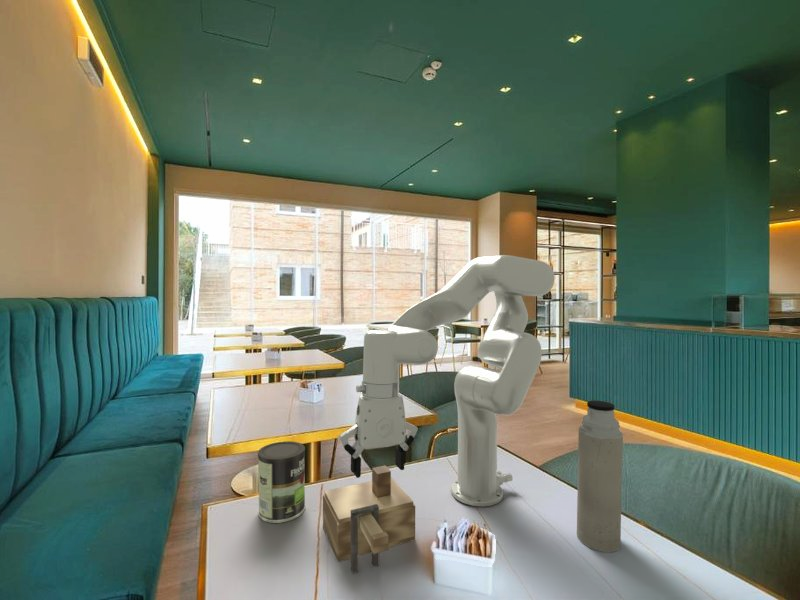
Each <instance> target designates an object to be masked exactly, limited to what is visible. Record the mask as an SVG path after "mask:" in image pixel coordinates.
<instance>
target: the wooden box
mask: <svg viewBox="0 0 800 600" xmlns="http://www.w3.org/2000/svg"><path fill="white" fill-rule="evenodd" d="M371 512H372V516H373V517H374V519H375V520H376V522H377V523H378V525H379V526H380V528H381V529H382V531H383V532H386V533H387V534H388V548H391V547H395V546H399V545H402V544H405V543H409V542H413V541H416V505H415V503H413V506H409V507H405V508H401V509H397V510H393V511H389V512H385V513H381V514H379V507H378V505H377V504H375V505H371V506H366V507H362V508H358V509H354V510H351V521H348V522H344V523H340V524H339V522H338V520H337V518H336V516H335V514H334V512H333V510H332V509H331V507H330V505H329V503H328V501H327V499H326V497H325V495H324V493H323V494H322V528H323V530H324V533H325V534H326V536H327V540H328V542H329V544H330V546H331V549H332V550H333V551H332V552H333V553H334V556H335V558H336V560H337V562H338V563H339V562H343V561H345V560H349V559H350V571H351V573H352V574H355V573H358V572H359V570H358V569H359V565H358V564H359V559H358V558H359V557H360V556H363V555H367V554H370V553H371V565H372V567H373V568H376V567H378V566H379V565H380V564H379V561H380V560H379V558H380V557H379V554H380V552H379V553H376V554H373V552H372V551H371V546H370V544H369V543H368V541H367V539H366V538H365V536H364V534H363V532H362V531H361V529H360V527H359V526H358V515H362V514H367V513H371ZM398 544H399V545H398Z"/></svg>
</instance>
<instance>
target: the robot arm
mask: <svg viewBox="0 0 800 600" xmlns="http://www.w3.org/2000/svg"><path fill="white" fill-rule="evenodd" d="M555 279H556V278H555V272H554V270H553V268H552V267H551V266H550V265H549V263H547V262H546V261H542V260H539V259H531V258H527V257H521V256H515V255H508V254H497V255H485V256H479V257H475V258H473V259H472V260H470V261H468V263H467V264H466V265H465V266H464V267H463V268H462V269H460V270H459V272H458V273H456V275H455V276H453V277H452V279H451V280H449V281H448V282H447V283H446V284H445V285H444V286H443V287H442V288H441V289H439V291H437V292H436V293H434V294H432V295H430V296H428V297H426V298H425V299H423V300H422V301H420V302H417V303H416V304H414V305H412V306H411V307H409V308H408V309H406V311H404V312H403V313H401V315H400V316H398V317H397V318H396V319H395V320H394V321H393V322H392V324H390V325H389V326H388V328H387V329H371V330H368V331H366V332H365V334H364V337H363V358H362V359H363V363H362V364H363V365H362V380H361V384H360V385H356V386H355V390H356V393H360V396H359V398H358V402H357V407H356V411H355V419H354V425H353V426H351V427H350V428H348V429H346V430H345V431H343V432H342V433H341V434H339V435H338V437H337V438H338V440H339V441H340V444H341V445H342V448H343V449H344V451H346V452H347V453H348V454H349V456H350V471H351V473H353V474H354V476H355V477H356V478H357V479H358V478H361V475H362V472H361V471H362V458H361V457H360V455H361V454H362V452H363V451H364V450H374V449H375V450H376V449H382V448H388V447H389V448H390V447H394V446H396V447H395V454H394V455H395V456H394V457H395V462H394V463H395V466H396V467H397V468H399V470H400V471H404V470H405V464H406V462H407V461H406V460H407V451H408V450H409V449H410V448H409V446H411V444H412V443H413V442H414V440H415V437H416V435H417V432H418V430H419V428H418V427H417V426H416V425H414V424H412V423H410V422H407V421H406V411H405V403H404V398H403V395H402V394H399V393H400V392H399V391H400V365H403V364H404V365H414V366H421V365H425V364H429V363H431V362H432V361H433V360H434V359H435V358H436V357H437V354H438V351H439V344H438V341H437V339H436V337H435V336H434V335H433V334H432V333H430V332H429V330H432V329H434V328H436V327H439V326H442V325H443V326H444V325H446V324H451V323H455V322H457V321H460V320H463V319H465V317H467V316H468V315H469V314H470V313H471V312H472V310H474V309H475V308H476V306H477V305H478V304H479V303H480V302H481V301H482V300H483V299H484V298H485V297H486V296H487V295H488V294H489V293H493V292H494V296H495V300H496V301H495V302H496V307H495V312H494V314H493V317H492V318H491V321H490V323H489V324H488V326H487V329H486V330H485V332H484V334H483V335H482V338H481V340H480V343H479V345H478V349H477V354H478V358H479V359H480V360H481V362H483V363H484V364H486V365H488V366H492V367H495V368H500V369H501V370H497V369H494V368H489V367H486V366H483V365H473V364H472V365H466V366H464V367H462V368H461V369H460V370H459V371H458V372H457V373H456V375H455V377H454V382H453V383H454V385H453V387H454V397H455V401H456V405H457V406H456V409H457V479H456V480H455V481H454V482H452V484H451V487H450V491H451V495H452V496H453V497H454V498H455V499H456V500H457V501H459V502H461V503H463V504H465V505H469V506H472V507H491V506H495V505H496V504H498V503H500V502H502V500H503V498H504V490H503V488H502V486H501V485H503V484H504V483H508V482H513V475H512V474H511V472H507V473H503V472H501V470H498V421H497V416H496V414H497V415H501V416H511V415H513V414H514V413H516V412H517V411H518V410H519V409H520V408H521V406H522V404H523V402H524V400H525V398H526V396H527V394H528V393H529V392H528V391H529V389H530V387H531V386H532V383H533V381H534V379H535V376H536V374H537V372H538V370H539V367H540V365H541V361H542V355H543V354H542V353H543V351H542V350H543V349H542V345H541V342H540V340H539V339H538V338H537V337H536V336H534V334H531V333H529V332H525V329H526V327H527V325H528V321H529V314H528V309H527V307H526V304H525V302H524V300H523V297H522V296H525V297H542V296H545V295H547V294H548V293H549V292H550V291H552V289H553V287H554V284H555ZM407 430H408V432H407ZM352 437H353V438H354V442H353V444H351V445H350V443H349V439H350V438H352ZM502 473H503V474H502Z"/></svg>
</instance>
